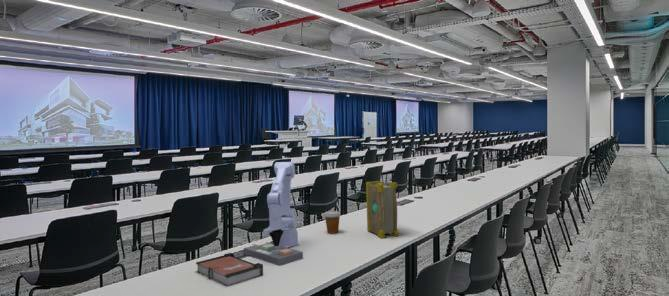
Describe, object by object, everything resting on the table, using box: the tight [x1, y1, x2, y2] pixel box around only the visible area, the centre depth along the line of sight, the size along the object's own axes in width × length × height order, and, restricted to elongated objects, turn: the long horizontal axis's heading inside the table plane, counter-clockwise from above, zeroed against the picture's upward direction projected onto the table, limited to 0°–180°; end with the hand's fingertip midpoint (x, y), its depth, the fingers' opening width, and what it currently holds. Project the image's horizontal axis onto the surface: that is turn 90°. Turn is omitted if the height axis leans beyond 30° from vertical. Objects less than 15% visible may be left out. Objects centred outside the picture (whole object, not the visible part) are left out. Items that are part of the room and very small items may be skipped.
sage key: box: [261, 243, 275, 251], centre depth 202 cm, size 5×5×2 cm
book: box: [195, 252, 264, 287], centre depth 177 cm, size 26×18×5 cm
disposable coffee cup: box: [324, 210, 341, 235], centre depth 243 cm, size 10×10×12 cm
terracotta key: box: [278, 248, 293, 256], centre depth 193 cm, size 5×5×2 cm
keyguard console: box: [243, 242, 304, 267], centre depth 200 cm, size 14×28×3 cm, turn 46°
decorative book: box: [365, 180, 400, 239], centre depth 236 cm, size 20×11×30 cm, turn 21°
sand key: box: [253, 241, 267, 249], centre depth 207 cm, size 5×5×2 cm
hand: (276, 245), depth 198 cm, fingers closed
